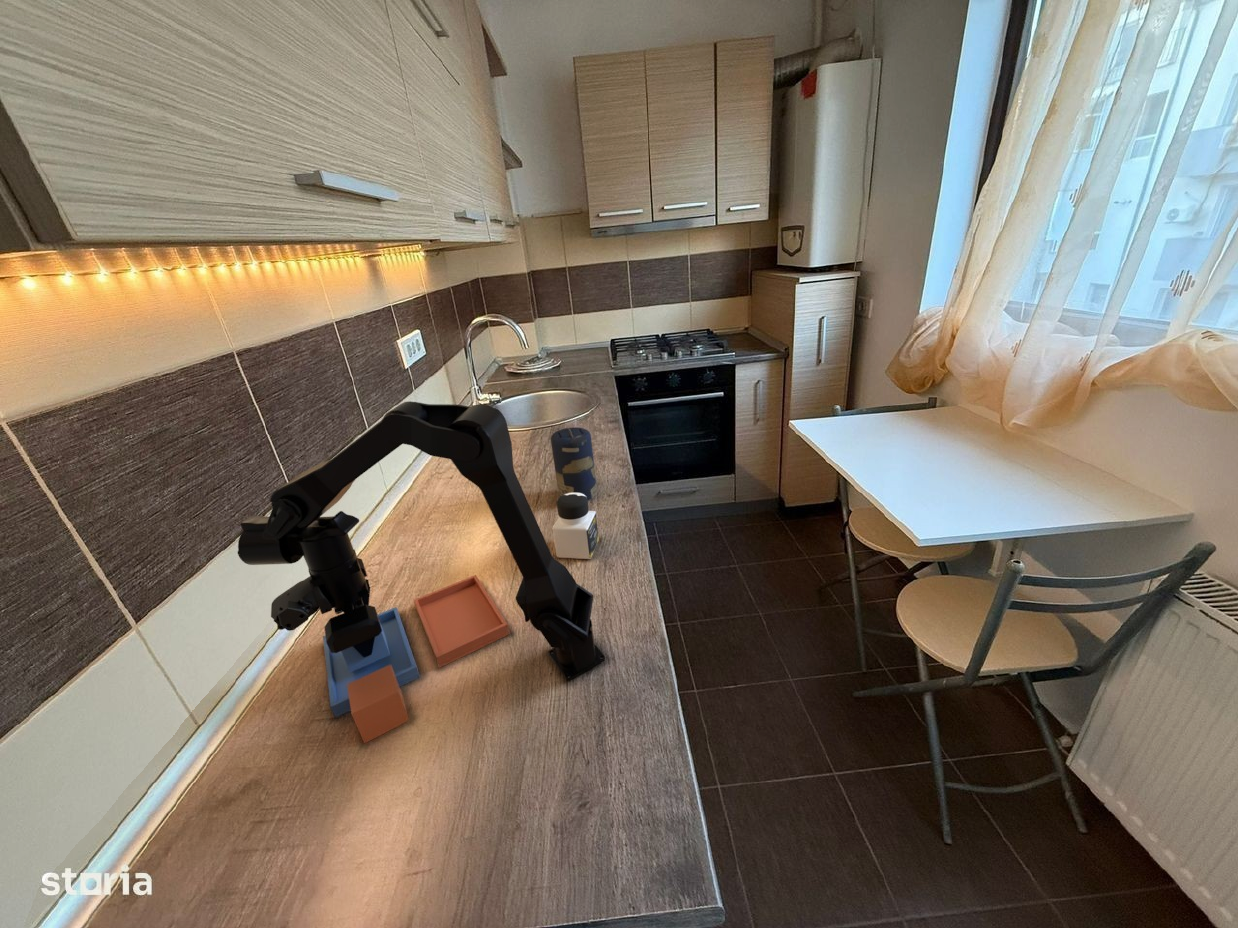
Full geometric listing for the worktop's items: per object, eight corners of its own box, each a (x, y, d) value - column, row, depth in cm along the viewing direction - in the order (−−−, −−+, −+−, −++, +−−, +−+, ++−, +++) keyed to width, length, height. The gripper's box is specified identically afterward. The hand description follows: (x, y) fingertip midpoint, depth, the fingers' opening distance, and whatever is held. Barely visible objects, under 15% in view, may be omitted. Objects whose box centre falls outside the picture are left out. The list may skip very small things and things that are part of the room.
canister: (597, 486, 122) (590, 420, 115) (597, 504, 114) (590, 434, 106) (560, 489, 122) (551, 423, 115) (557, 507, 114) (547, 437, 106)
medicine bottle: (590, 560, 93) (584, 506, 88) (556, 558, 95) (548, 505, 90) (599, 539, 100) (593, 489, 95) (566, 538, 101) (559, 488, 96)
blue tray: (420, 677, 70) (416, 666, 69) (335, 717, 65) (330, 707, 64) (399, 616, 83) (396, 606, 82) (327, 645, 77) (322, 636, 76)
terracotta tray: (509, 634, 77) (507, 624, 76) (439, 667, 71) (436, 657, 70) (478, 583, 89) (475, 574, 88) (416, 609, 84) (413, 599, 83)
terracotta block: (409, 720, 64) (398, 691, 61) (364, 743, 61) (351, 713, 59) (401, 692, 68) (390, 664, 66) (359, 712, 65) (346, 684, 63)
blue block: (390, 655, 72) (379, 625, 70) (349, 672, 69) (337, 642, 67) (385, 635, 76) (374, 607, 74) (347, 652, 74) (335, 623, 72)
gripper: (264, 550, 69) (302, 631, 76) (259, 622, 55) (306, 716, 61) (349, 523, 75) (377, 602, 81) (364, 583, 60) (397, 673, 66)
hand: (365, 643), depth 72 cm, fingers closed on blue block, 5 cm apart
